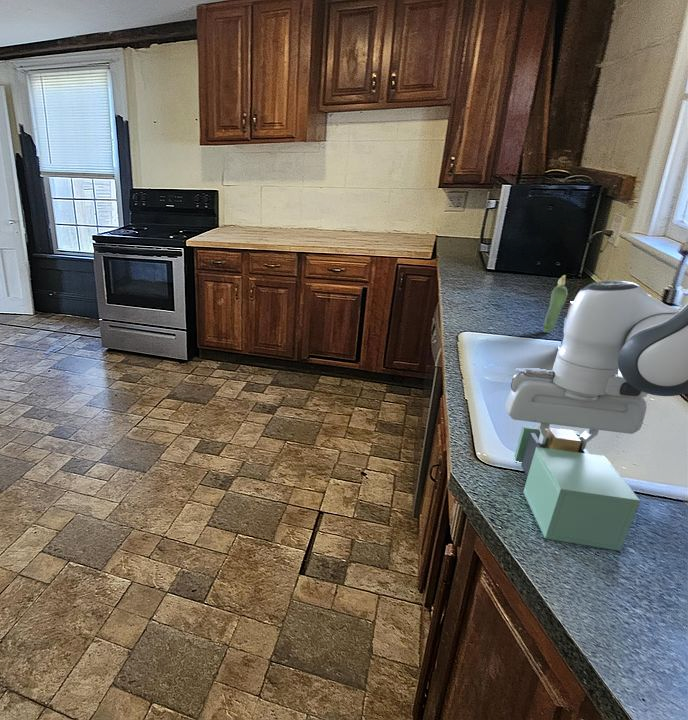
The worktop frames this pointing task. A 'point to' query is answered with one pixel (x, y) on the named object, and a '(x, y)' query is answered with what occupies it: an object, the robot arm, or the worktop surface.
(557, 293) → the vegetable
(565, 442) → the cube
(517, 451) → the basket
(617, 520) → the mint green box
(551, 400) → the robot arm
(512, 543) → the worktop surface
